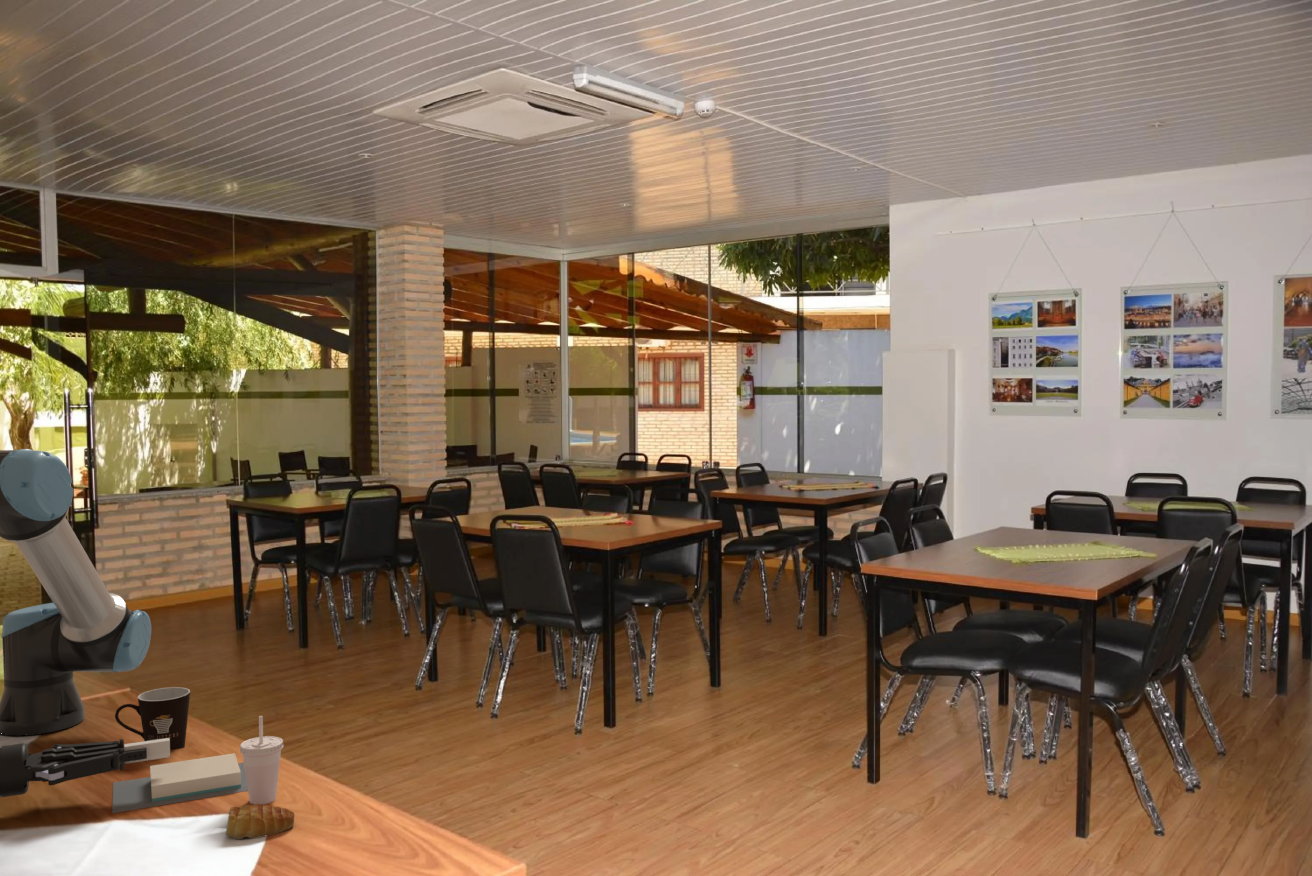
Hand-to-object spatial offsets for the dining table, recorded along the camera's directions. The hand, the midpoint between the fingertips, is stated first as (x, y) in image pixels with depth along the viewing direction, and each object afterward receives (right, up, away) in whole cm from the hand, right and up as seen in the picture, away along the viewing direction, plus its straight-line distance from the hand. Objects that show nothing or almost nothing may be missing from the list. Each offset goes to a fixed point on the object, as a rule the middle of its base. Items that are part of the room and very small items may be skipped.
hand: (169, 747), depth 168 cm
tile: (-2, -5, -1) cm, 6 cm away
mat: (+2, -7, +1) cm, 7 cm away
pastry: (+19, -8, -14) cm, 26 cm away
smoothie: (+17, -8, -5) cm, 19 cm away
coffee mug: (-12, -7, +21) cm, 25 cm away
